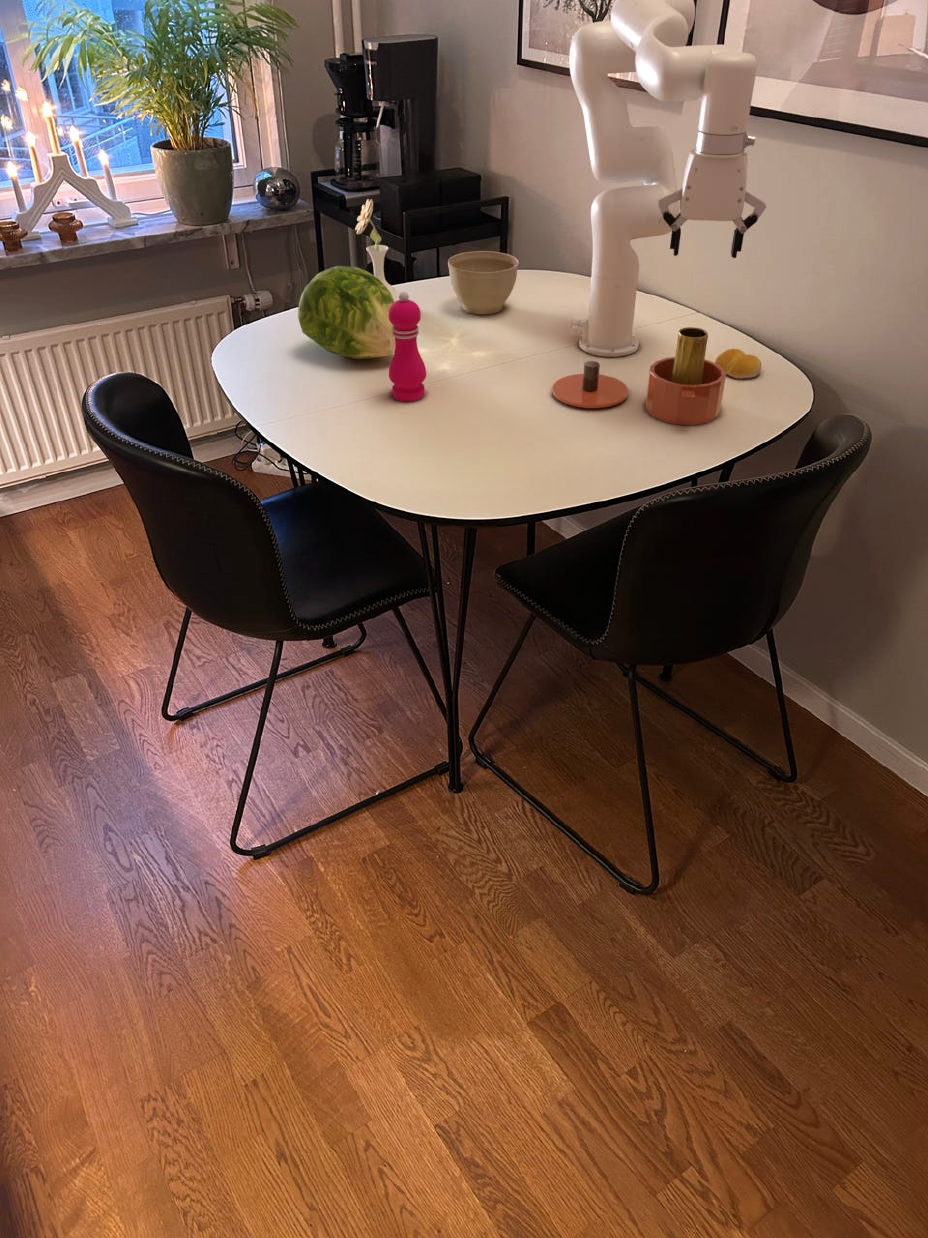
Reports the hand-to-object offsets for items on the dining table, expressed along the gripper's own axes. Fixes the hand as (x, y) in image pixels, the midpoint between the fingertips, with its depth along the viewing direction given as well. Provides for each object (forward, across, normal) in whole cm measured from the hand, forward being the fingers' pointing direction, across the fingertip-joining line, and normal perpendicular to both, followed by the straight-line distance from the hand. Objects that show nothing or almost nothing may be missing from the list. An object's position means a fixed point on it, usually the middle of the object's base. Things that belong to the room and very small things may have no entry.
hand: (704, 254), depth 158 cm
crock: (+28, 0, 0) cm, 28 cm away
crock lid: (+28, +18, -4) cm, 33 cm away
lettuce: (+28, +68, -18) cm, 76 cm away
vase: (+28, 0, 0) cm, 28 cm away
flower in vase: (+28, +69, -44) cm, 87 cm away
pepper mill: (+28, +52, +1) cm, 60 cm away
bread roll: (+28, -11, -19) cm, 36 cm away
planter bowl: (+28, +45, -48) cm, 72 cm away
